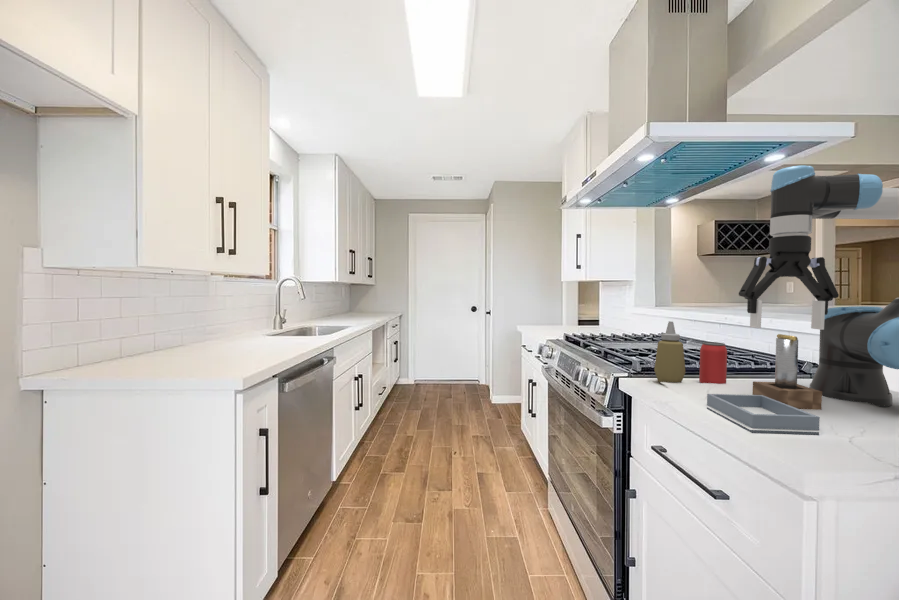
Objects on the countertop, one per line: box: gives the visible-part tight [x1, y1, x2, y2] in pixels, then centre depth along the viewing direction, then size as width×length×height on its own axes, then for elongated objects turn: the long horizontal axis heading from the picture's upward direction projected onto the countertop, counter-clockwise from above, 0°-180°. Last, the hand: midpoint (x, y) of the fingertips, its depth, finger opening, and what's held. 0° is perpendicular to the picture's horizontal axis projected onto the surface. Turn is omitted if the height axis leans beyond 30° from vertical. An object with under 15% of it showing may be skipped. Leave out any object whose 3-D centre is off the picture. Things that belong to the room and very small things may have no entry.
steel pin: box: [774, 333, 799, 389], centre depth 97 cm, size 4×6×16 cm
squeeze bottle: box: [653, 321, 686, 384], centre depth 121 cm, size 8×8×18 cm
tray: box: [706, 393, 821, 436], centre depth 87 cm, size 12×16×4 cm
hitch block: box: [751, 381, 823, 411], centre depth 97 cm, size 9×9×5 cm
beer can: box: [698, 341, 728, 385], centre depth 120 cm, size 7×7×12 cm
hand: (786, 328), depth 97 cm, fingers open, 13 cm apart
